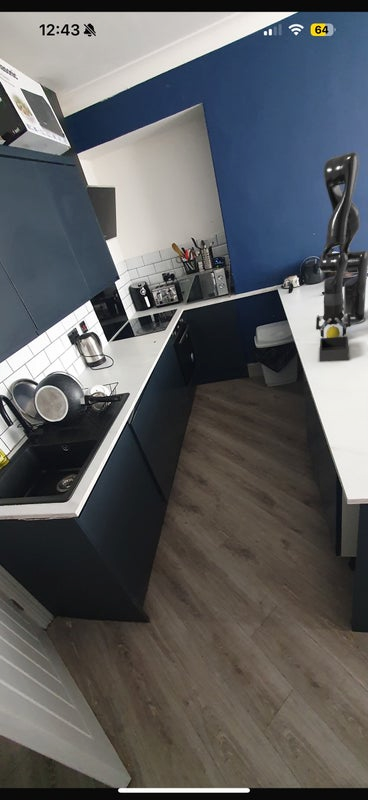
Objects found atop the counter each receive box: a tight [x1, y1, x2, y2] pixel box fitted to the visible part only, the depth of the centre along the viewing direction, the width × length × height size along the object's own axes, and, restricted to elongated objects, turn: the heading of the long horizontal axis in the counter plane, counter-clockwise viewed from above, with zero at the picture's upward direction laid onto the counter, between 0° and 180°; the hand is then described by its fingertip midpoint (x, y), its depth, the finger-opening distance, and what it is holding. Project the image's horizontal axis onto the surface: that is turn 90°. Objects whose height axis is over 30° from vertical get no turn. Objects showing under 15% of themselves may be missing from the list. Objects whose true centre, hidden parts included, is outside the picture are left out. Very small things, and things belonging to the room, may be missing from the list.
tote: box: [319, 335, 350, 362], centre depth 134 cm, size 13×11×5 cm
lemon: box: [326, 325, 341, 338], centre depth 142 cm, size 6×6×8 cm
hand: (333, 336), depth 143 cm, fingers open, 8 cm apart
